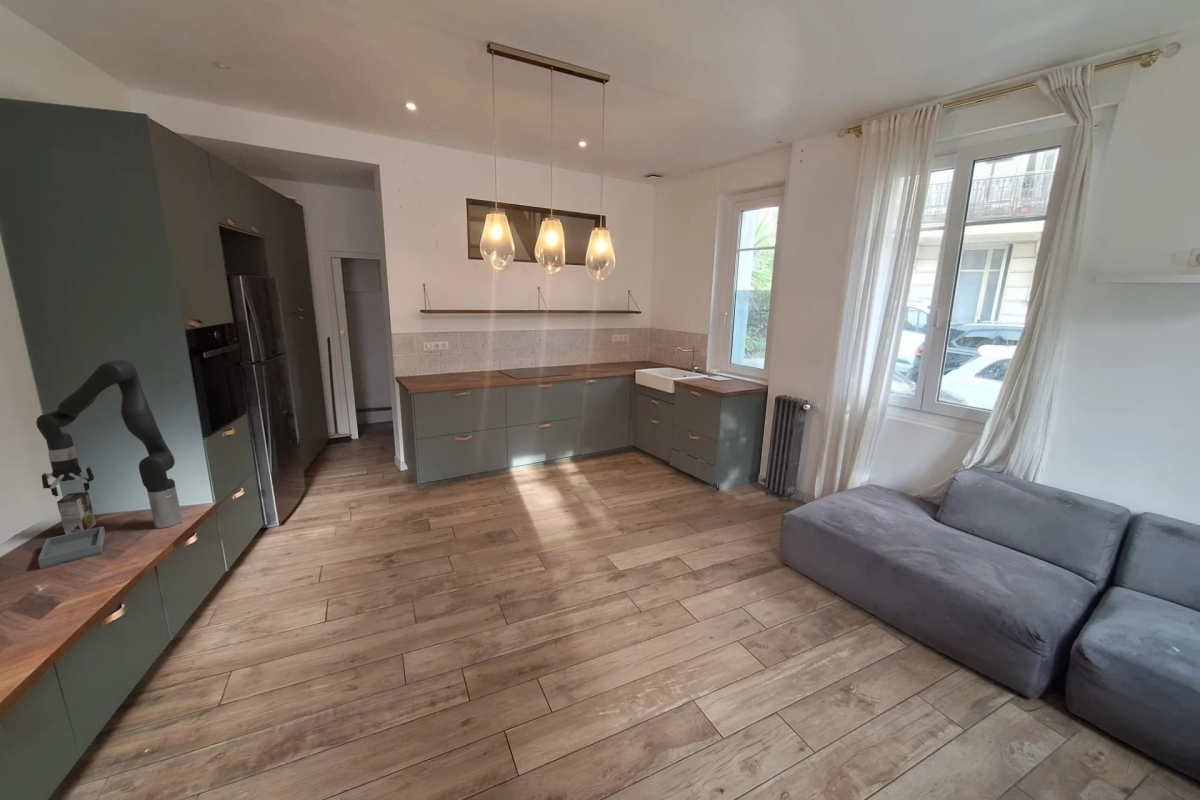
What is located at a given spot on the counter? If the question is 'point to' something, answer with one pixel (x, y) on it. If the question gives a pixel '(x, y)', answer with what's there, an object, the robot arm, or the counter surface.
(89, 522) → the coffee box
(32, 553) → the counter surface
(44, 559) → the box
